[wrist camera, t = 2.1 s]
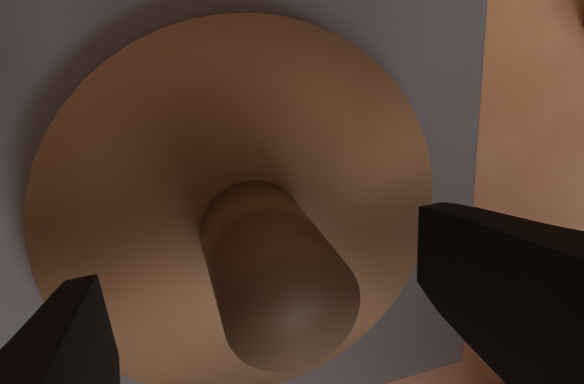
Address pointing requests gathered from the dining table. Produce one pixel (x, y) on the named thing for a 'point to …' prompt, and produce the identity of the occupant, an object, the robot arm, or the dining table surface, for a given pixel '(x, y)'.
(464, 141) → the mat
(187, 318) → the lid
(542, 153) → the dining table surface
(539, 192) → the dining table surface
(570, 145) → the dining table surface
